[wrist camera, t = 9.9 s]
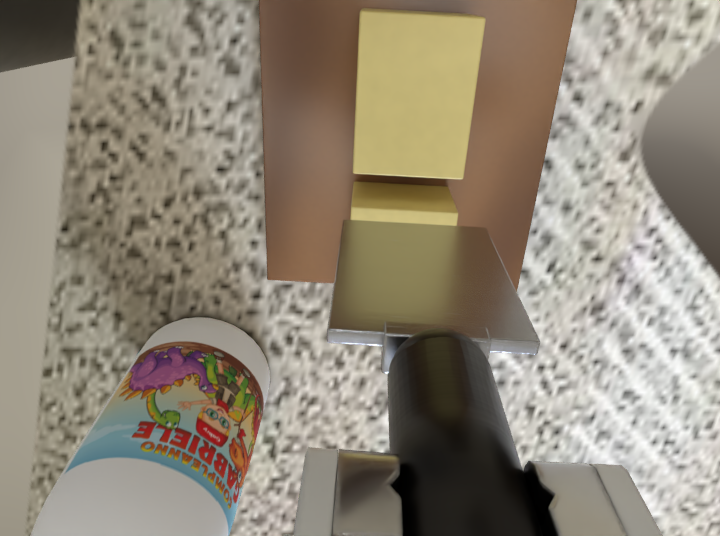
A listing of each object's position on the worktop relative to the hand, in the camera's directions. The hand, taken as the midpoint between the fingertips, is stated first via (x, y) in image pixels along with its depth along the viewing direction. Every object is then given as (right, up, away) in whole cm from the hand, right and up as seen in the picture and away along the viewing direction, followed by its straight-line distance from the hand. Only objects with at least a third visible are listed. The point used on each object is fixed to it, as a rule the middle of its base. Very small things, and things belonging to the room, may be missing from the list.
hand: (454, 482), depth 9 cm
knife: (0, +5, +10) cm, 11 cm away
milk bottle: (-11, -2, +24) cm, 26 cm away
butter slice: (0, +7, +17) cm, 18 cm away
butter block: (+1, +11, +15) cm, 19 cm away
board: (+1, +11, +16) cm, 20 cm away
